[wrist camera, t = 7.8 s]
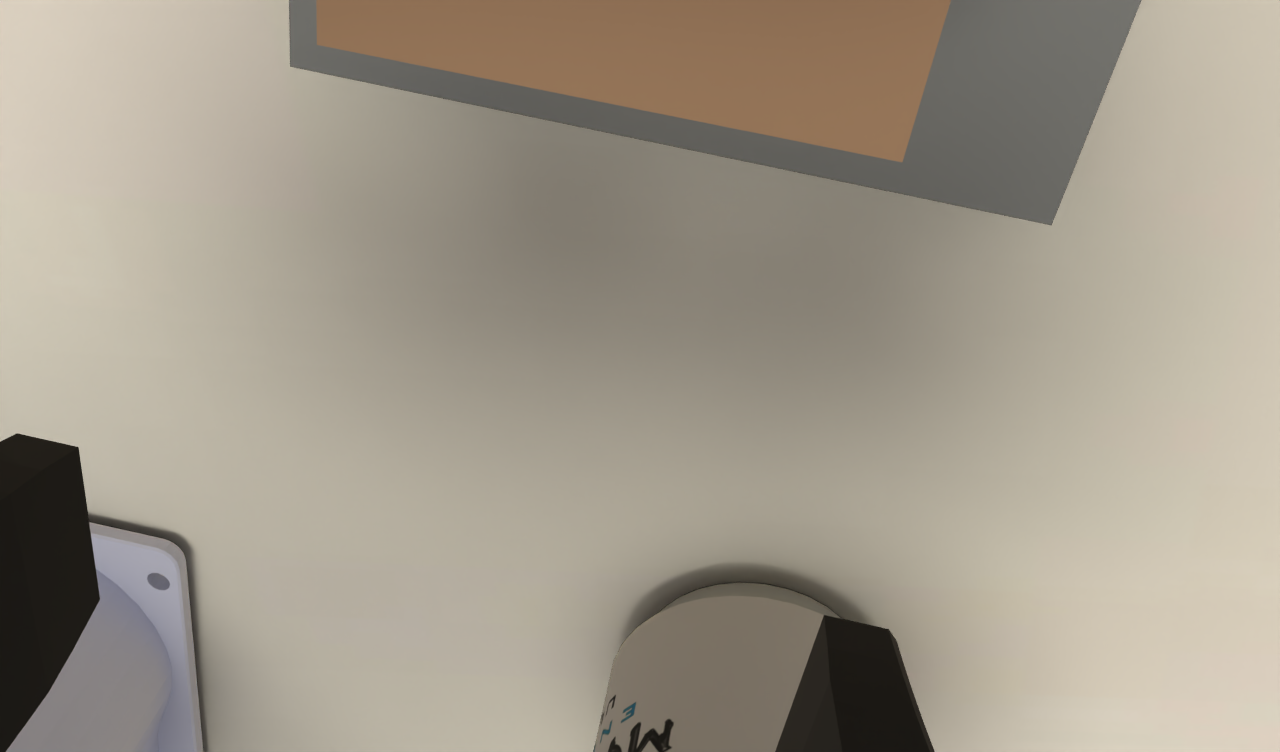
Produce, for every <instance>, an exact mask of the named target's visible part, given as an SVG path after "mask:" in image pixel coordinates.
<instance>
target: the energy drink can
mask: <svg viewBox="0 0 1280 752" xmlns="http://www.w3.org/2000/svg"><path fill="white" fill-rule="evenodd" d="M824 615H827V616H831V617H836V618H840V617H839V616H838V615H836V614H835V613H834V612H833V611H831V610H830V609H829V608H828V607H826V606H824V605H822V604H821V603H819V602H817V601H815V600H813V599H812V598H810V597H808V596H805V595H802V594H800V593H797V592H794V591H792V590H789V589H785V588H781V587H776V586H771V585H766V584H756V583H729V584H718V585H714V586H710V587H706V588H701V589H697V590H695V591H693V592H690V593H688V594H686V595H683V596H681V597H679V598H677V599H676V600H674V601H673V602H672V603H670V604H669V605H667V606H666V607H665V608H663V609H662V610H661V611H660V613H657V614H655V615H654V616H652V617H651V618H650V619H648V620H647V621H645V622H644V623H642V624H641V625H640V626H638V627H637V628H636V629H635V630H634V631H633V632H632V633H631V634H630V635H629V637H628V638H627V639H626V640H625V641H624V642H623V643H622V645H621V647H620V649H619V651H618V653H617V655H616V657H615V659H614V662H613V666H612V670H611V675H610V679H609V684H608V688H607V693H606V697H605V702H604V706H603V711H602V715H601V720H600V724H599V729H598V733H597V738H596V742H595V746H594V751H593V752H775V751H776V748H777V745H778V742H779V739H780V737H781V734H782V731H783V728H784V725H785V723H786V720H787V717H788V714H789V711H790V709H791V706H792V703H793V700H794V697H795V695H796V692H797V689H798V686H799V683H800V681H801V678H802V675H803V672H804V669H805V667H806V664H807V661H808V658H809V655H810V653H811V650H812V647H813V644H814V641H815V639H816V636H817V633H818V630H819V627H820V625H821V622H822V619H823V616H824ZM840 619H841V618H840Z"/></svg>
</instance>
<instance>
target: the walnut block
mask: <svg viewBox="0 0 1280 752" xmlns="http://www.w3.org/2000/svg"><path fill="white" fill-rule="evenodd" d="M950 2H951V0H316V9H317V45H321V46H326V47H331V48H336V49H341V50H345V51H350V52H355V53H360V54H365V55H370V56H375V57H380V58H385V59H390V60H395V61H400V62H405V63H410V64H415V65H420V66H425V67H430V68H435V69H440V70H445V71H450V72H455V73H460V74H465V75H470V76H475V77H480V78H485V79H490V80H495V81H500V82H505V83H510V84H515V85H520V86H525V87H530V88H535V89H540V90H545V91H550V92H555V93H560V94H565V95H570V96H575V97H579V98H584V99H589V100H594V101H599V102H604V103H609V104H614V105H619V106H624V107H629V108H634V109H639V110H644V111H649V112H654V113H659V114H664V115H669V116H674V117H679V118H684V119H689V120H694V121H699V122H704V123H709V124H714V125H719V126H724V127H729V128H734V129H739V130H744V131H749V132H754V133H759V134H764V135H769V136H774V137H779V138H784V139H789V140H794V141H799V142H804V143H809V144H814V145H818V146H823V147H828V148H833V149H838V150H843V151H848V152H853V153H858V154H863V155H868V156H873V157H878V158H883V159H888V160H893V161H898V162H903V159H904V155H905V152H906V148H907V145H908V142H909V138H910V135H911V132H912V128H913V125H914V122H915V118H916V115H917V112H918V108H919V105H920V102H921V98H922V95H923V92H924V88H925V85H926V82H927V78H928V75H929V72H930V68H931V65H932V62H933V58H934V55H935V52H936V48H937V45H938V42H939V38H940V35H941V32H942V28H943V25H944V22H945V18H946V15H947V12H948V8H949V5H950Z"/></svg>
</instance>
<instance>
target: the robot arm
mask: <svg viewBox="0 0 1280 752" xmlns="http://www.w3.org/2000/svg"><path fill="white" fill-rule="evenodd" d="M162 575H164V576H162ZM0 752H203V743H202V732H201V721H200V710H199V699H198V688H197V677H196V666H195V655H194V644H193V633H192V622H191V611H190V600H189V589H188V578H187V567H186V559H185V556H184V553H183V552H182V550H181V549H180V548H179V547H178V546H177V545H176V544H174V543H173V542H171V541H168V540H166V539H162V538H158V537H153V536H149V535H145V534H140V533H136V532H131V531H127V530H122V529H118V528H113V527H109V526H104V525H100V524H96V523H91V522H89V518H88V511H87V504H86V497H85V490H84V483H83V476H82V469H81V462H80V455H79V448H78V447H75V446H71V445H66V444H62V443H57V442H53V441H48V440H44V439H39V438H35V437H30V436H26V435H22V434H15V435H13V436H11V437H9V438H7V439H5V440H3V441H1V442H0ZM775 752H934V749H933V746H932V744H931V741H930V738H929V736H928V733H927V730H926V728H925V725H924V722H923V720H922V717H921V714H920V711H919V708H918V706H917V703H916V700H915V697H914V694H913V691H912V688H911V685H910V682H909V679H908V676H907V673H906V670H905V667H904V664H903V661H902V657H901V654H900V651H899V648H898V644H897V641H896V639H895V638H894V637H893V635H892V634H891V632H890V631H889V629H885V628H880V627H876V626H871V625H867V624H862V623H858V622H853V621H849V620H845V619H840V618H836V617H831V616H827V615H824V616H823V619H822V622H821V625H820V627H819V630H818V633H817V636H816V639H815V641H814V644H813V647H812V650H811V653H810V655H809V658H808V661H807V664H806V667H805V669H804V672H803V675H802V678H801V681H800V683H799V686H798V689H797V692H796V695H795V697H794V700H793V703H792V706H791V709H790V711H789V714H788V717H787V720H786V723H785V725H784V728H783V731H782V734H781V737H780V739H779V742H778V745H777V748H776V751H775Z"/></svg>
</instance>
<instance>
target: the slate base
mask: <svg viewBox="0 0 1280 752" xmlns="http://www.w3.org/2000/svg"><path fill="white" fill-rule="evenodd" d="M1140 2H1141V0H951V2H950V5H949V8H948V12H947V15H946V18H945V22H944V25H943V28H942V32H941V35H940V38H939V42H938V45H937V48H936V52H935V55H934V58H933V62H932V65H931V68H930V72H929V75H928V78H927V82H926V85H925V88H924V92H923V95H922V98H921V102H920V105H919V108H918V112H917V115H916V118H915V122H914V125H913V128H912V132H911V135H910V138H909V142H908V145H907V148H906V152H905V155H904V159H903V162H898V161H893V160H888V159H883V158H878V157H873V156H868V155H863V154H858V153H853V152H848V151H843V150H838V149H833V148H828V147H823V146H818V145H814V144H809V143H804V142H799V141H794V140H789V139H784V138H779V137H774V136H769V135H764V134H759V133H754V132H749V131H744V130H739V129H734V128H729V127H724V126H719V125H714V124H709V123H704V122H699V121H694V120H689V119H684V118H679V117H674V116H669V115H664V114H659V113H654V112H649V111H644V110H639V109H634V108H629V107H624V106H619V105H614V104H609V103H604V102H599V101H594V100H589V99H584V98H579V97H575V96H570V95H565V94H560V93H555V92H550V91H545V90H540V89H535V88H530V87H525V86H520V85H515V84H510V83H505V82H500V81H495V80H490V79H485V78H480V77H475V76H470V75H465V74H460V73H455V72H450V71H445V70H440V69H435V68H430V67H425V66H420V65H415V64H410V63H405V62H400V61H395V60H390V59H385V58H380V57H375V56H370V55H365V54H360V53H355V52H350V51H345V50H341V49H336V48H331V47H326V46H321V45H317V9H316V0H289V22H290V67H295V68H300V69H304V70H309V71H314V72H319V73H324V74H328V75H333V76H338V77H343V78H348V79H352V80H357V81H362V82H367V83H371V84H376V85H381V86H386V87H391V88H395V89H400V90H405V91H410V92H415V93H419V94H424V95H429V96H434V97H439V98H443V99H448V100H453V101H458V102H463V103H467V104H472V105H477V106H482V107H487V108H491V109H496V110H501V111H506V112H511V113H515V114H520V115H525V116H530V117H535V118H539V119H544V120H549V121H554V122H559V123H563V124H568V125H573V126H578V127H582V128H587V129H592V130H597V131H602V132H606V133H611V134H616V135H621V136H626V137H630V138H635V139H640V140H645V141H650V142H654V143H659V144H664V145H669V146H674V147H678V148H683V149H688V150H693V151H698V152H702V153H707V154H712V155H717V156H722V157H726V158H731V159H736V160H741V161H746V162H750V163H755V164H760V165H765V166H769V167H774V168H779V169H784V170H789V171H793V172H798V173H803V174H808V175H813V176H817V177H822V178H827V179H832V180H837V181H841V182H846V183H851V184H856V185H861V186H865V187H870V188H875V189H880V190H885V191H889V192H894V193H899V194H904V195H909V196H913V197H918V198H923V199H928V200H933V201H937V202H942V203H947V204H952V205H957V206H961V207H966V208H971V209H976V210H980V211H985V212H990V213H995V214H1000V215H1004V216H1009V217H1014V218H1019V219H1024V220H1028V221H1033V222H1038V223H1043V224H1048V225H1052V223H1053V220H1054V218H1055V215H1056V213H1057V210H1058V208H1059V205H1060V203H1061V200H1062V198H1063V195H1064V193H1065V190H1066V188H1067V185H1068V183H1069V180H1070V178H1071V175H1072V173H1073V170H1074V168H1075V165H1076V163H1077V160H1078V158H1079V155H1080V153H1081V150H1082V148H1083V145H1084V143H1085V140H1086V138H1087V135H1088V133H1089V130H1090V128H1091V125H1092V123H1093V120H1094V118H1095V115H1096V113H1097V110H1098V108H1099V105H1100V103H1101V100H1102V98H1103V95H1104V93H1105V90H1106V88H1107V85H1108V82H1109V80H1110V77H1111V75H1112V72H1113V70H1114V67H1115V65H1116V62H1117V60H1118V57H1119V55H1120V52H1121V50H1122V47H1123V45H1124V42H1125V40H1126V37H1127V35H1128V32H1129V30H1130V27H1131V25H1132V22H1133V20H1134V17H1135V15H1136V12H1137V10H1138V7H1139V5H1140Z"/></svg>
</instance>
